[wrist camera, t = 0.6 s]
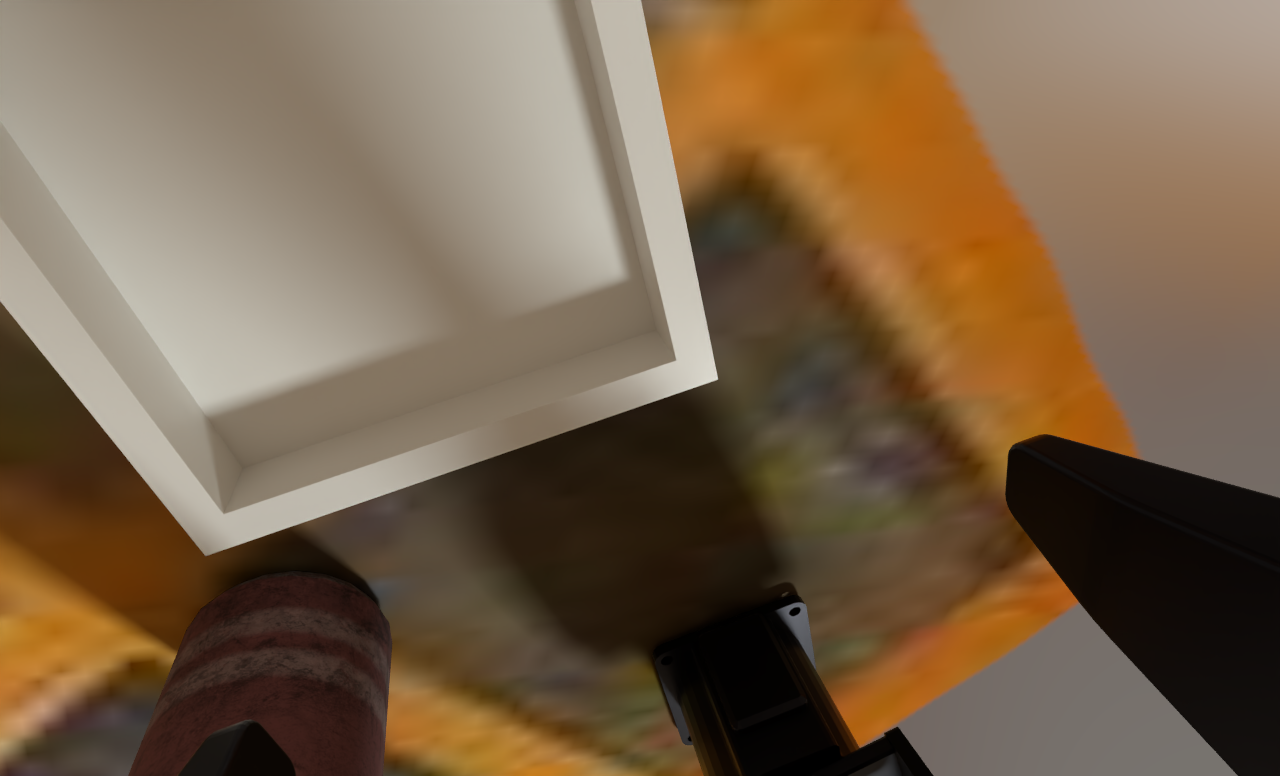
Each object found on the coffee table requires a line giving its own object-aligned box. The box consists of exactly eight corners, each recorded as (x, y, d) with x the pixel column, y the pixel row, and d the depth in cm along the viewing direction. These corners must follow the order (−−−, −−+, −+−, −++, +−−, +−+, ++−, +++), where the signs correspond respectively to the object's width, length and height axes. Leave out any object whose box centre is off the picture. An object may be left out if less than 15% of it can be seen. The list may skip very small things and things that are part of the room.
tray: (686, 337, 21) (718, 379, 19) (233, 490, 20) (205, 556, 18) (553, -259, 14) (577, -313, 12) (-180, -80, 13) (-323, -99, 10)
